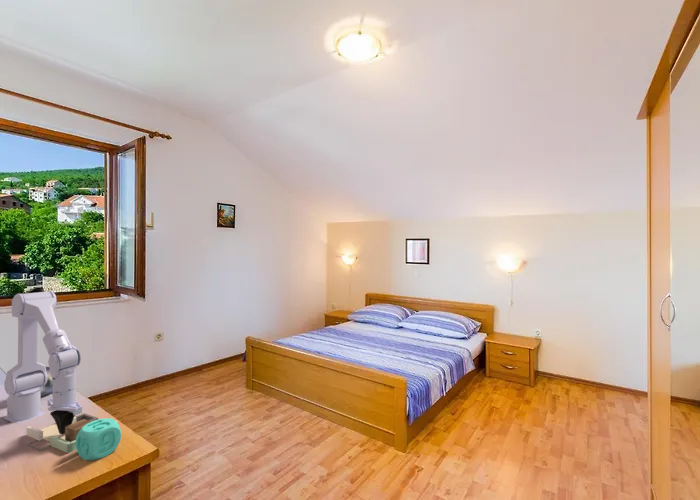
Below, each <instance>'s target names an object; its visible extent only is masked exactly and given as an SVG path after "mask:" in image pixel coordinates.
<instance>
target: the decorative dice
mask: <svg viewBox="0 0 700 500" xmlns="http://www.w3.org/2000/svg"><path fill="white" fill-rule="evenodd" d="M121 440H122V430H121V427H120V425H119V423H118V421H117V420H115V419H114V418H111V417H110V418H109V417H108V418H107V417H105V418H98V420H95V421H92V422H90V423H88V424H86V425H85V426H84V427H83V428H82V429H81V430H80V431H79V433H78V434H77V437H76V449H77V450H76V452H77V454H78V455H79V457H80V458H81V459H82V460H85V461H95V460H96V461H97V460H100V459H103V458H105V457H107V456H109V455H111V454H112V453H113V452H114V451H115V450H116V449H117V448H118V446H119V444H120V442H121Z"/></svg>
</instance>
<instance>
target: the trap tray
mask: <svg viewBox="0 0 700 500" xmlns="http://www.w3.org/2000/svg"><path fill="white" fill-rule="evenodd" d="M83 419H85V420H88V421H91V422H92V421H95V420H98V419H99V417H97V416H94V415H91V414H88V413H80V414H78V415H75V417H74V419H73V421H72V424H73V423H75V422H78V421H80V420H83ZM25 429H26V433H25V435H26V436H27V437H30V438H32V439H35V440H34V441H30V442H29V443H26V444H25V446H28V447H30V448H32V449H35V450H37V451H39V452H41V451H43V450H46V449H48V448H50V447H53V448H54V449H55V448H56V449H57V450H60V451H62V452H65V453H66V454H70V453H73V452H74V451H77V449H76V440H74V441H72V442H69V441H66V440H65V434H60V433H59V431H58V428H57V425H56V423H54V424H52V425H51V424H50V425H49V426H47V427H44V428H41V429H38V428H37V427H34V426H31V425H30V426H27V427H26V428H25ZM42 440H45V441H46V442H49V444H48V445H47V446H45V447H42V448H38V447H36V446H34V445H32V444H35V443H37V442H39V441H42Z"/></svg>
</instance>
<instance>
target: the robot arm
mask: <svg viewBox="0 0 700 500" xmlns="http://www.w3.org/2000/svg"><path fill="white" fill-rule="evenodd" d="M57 302H58V300H57V295H56V293H55V292H53V291H52V290H47V291H39V292H29V293H27V292H26V293H16V294H15V295H14V296H13V298H12V299H11V315H12V317H15V318H17V322H18V323H17V328H18V329H17V332H18V334H17V364H15V365H14V366H13V367H11V368H10V369H9V370H7V371H6V374H5V380H4V384H3V387H4V390H5V393H6V394H7V395H8V397H7V400H6V403H7V404H6V413H7V414H6V416H4V417H3V420H5V421H8V422H10V423H15V424H21V423H24V422H26V421H30V420H32V419H36V418H38V417H40V416H42V415H45V414H47V412H44V411H42V410H41V408H42V407H41V405H42V404H41V401H42V398H41V389H43V386H44V385H45V384H46V383H47V379H48V376H47V372H46V367H47V366H46V365H45V364H43V363H42V362H39V361H38V333H39V332H38V324H39V326H40V327H41V329H42V331H43V332H44V335H43V337H42V342H43V345H44V346H45V349H46V351H47V353H48V355H49V357H48V361H47V364H48V367H49V368H50V374H51V377H53V392H52V394H51V395H52V397H51V398H50V399H47V407H48V408H47V411H49V413H50V414H49V415H50V416H51V417H52V419H53V420H54V422H55V424H56V425H57V428H58V431H59V433H60V434H65V427H66V426H68V425H70V424H72V421H73V419H74V417H76V416H79V415H81V414H83V406H82V405H80V403H79V401H78V399H77V366H79V365H80V364H81V359H82V356H81V352H80V350H79V348H78V347H75V345H73V344H72V343H71V342H70V340H69V337H68V334H67V333H66V330H63V329H60V327H59V324H58V321H57V317H56V314H55V309H56V306H57Z"/></svg>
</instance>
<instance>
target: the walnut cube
mask: <svg viewBox="0 0 700 500" xmlns="http://www.w3.org/2000/svg"><path fill="white" fill-rule="evenodd" d="M90 422H91V421H88V420H85V419H83V420H80V421H78V422H75V423H73V424H70V425H68V426H66V427H65V440H66V441H69V442H72V441H74V440H76V437H77V434H78V433H79V431H80V430H81V429H82V428H83V427H84V426H85V425H86V424H88V423H90Z"/></svg>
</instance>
